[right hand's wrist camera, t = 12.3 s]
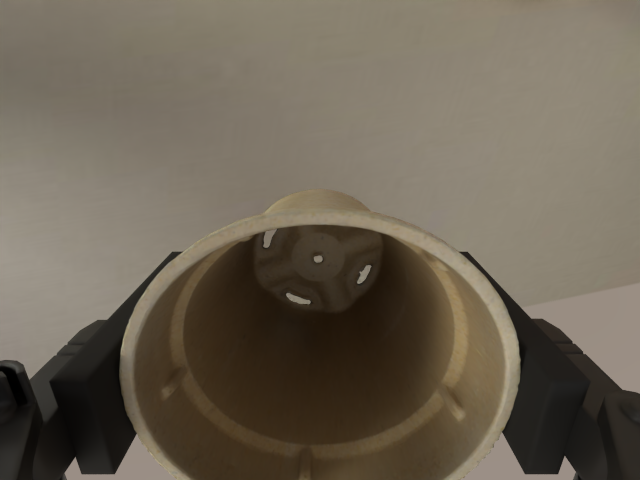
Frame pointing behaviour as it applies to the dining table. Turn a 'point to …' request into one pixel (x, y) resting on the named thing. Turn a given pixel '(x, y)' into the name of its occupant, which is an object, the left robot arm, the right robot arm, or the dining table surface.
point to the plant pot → (319, 352)
